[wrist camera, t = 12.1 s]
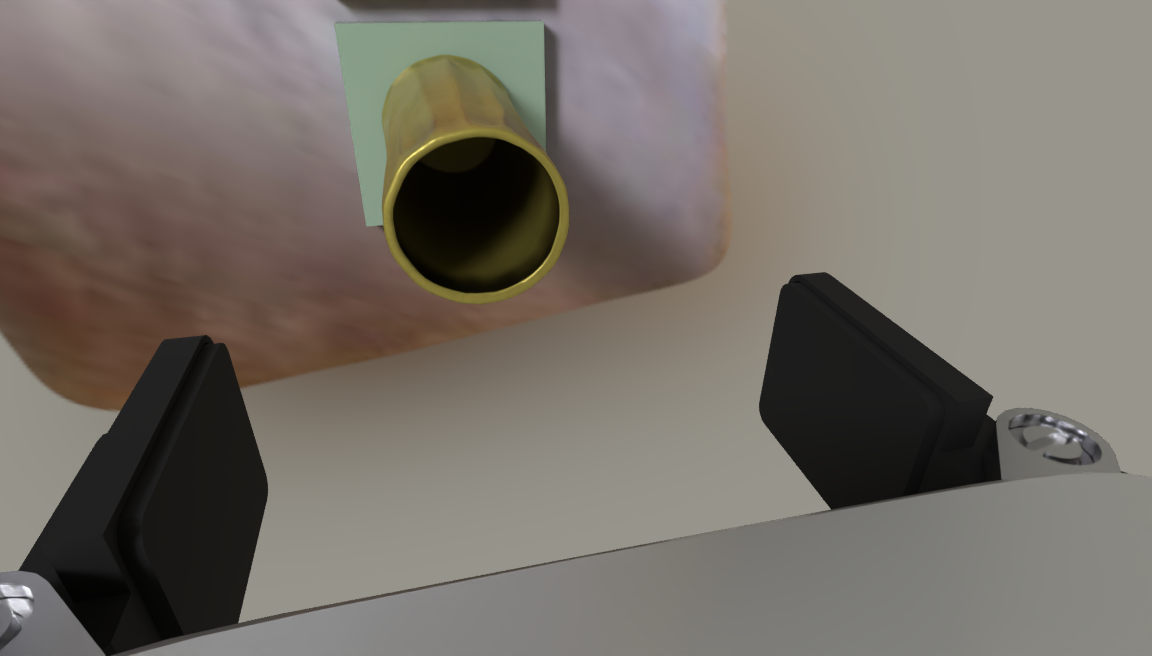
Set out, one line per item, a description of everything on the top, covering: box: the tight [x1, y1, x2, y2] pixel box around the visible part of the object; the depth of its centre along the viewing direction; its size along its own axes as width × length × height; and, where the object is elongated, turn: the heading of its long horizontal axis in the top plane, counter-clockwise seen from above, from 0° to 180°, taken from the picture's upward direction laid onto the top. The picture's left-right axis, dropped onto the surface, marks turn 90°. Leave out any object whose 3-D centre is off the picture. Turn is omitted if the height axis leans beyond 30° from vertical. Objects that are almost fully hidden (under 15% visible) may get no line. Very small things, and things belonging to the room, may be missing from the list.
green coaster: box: [334, 20, 546, 226], centre depth 31 cm, size 9×9×1 cm
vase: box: [382, 55, 569, 304], centre depth 24 cm, size 6×6×14 cm
